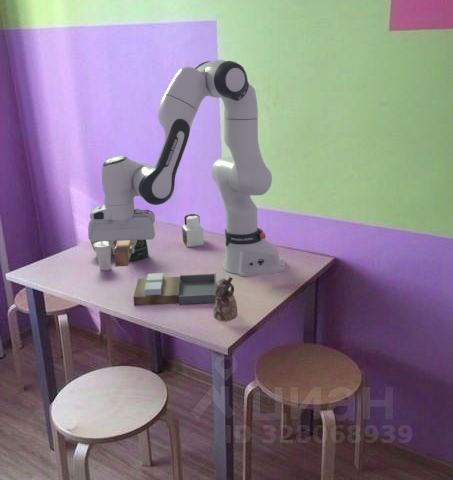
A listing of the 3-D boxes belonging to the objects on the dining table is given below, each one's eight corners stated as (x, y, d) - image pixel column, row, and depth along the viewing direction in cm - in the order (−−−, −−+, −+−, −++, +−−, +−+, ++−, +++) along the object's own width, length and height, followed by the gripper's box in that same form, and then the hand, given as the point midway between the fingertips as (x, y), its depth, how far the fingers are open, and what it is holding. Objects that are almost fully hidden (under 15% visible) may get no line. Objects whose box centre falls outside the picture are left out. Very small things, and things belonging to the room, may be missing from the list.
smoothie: (106, 263, 195) (102, 228, 190) (117, 267, 191) (114, 231, 187) (92, 269, 191) (88, 233, 186) (103, 273, 187) (99, 236, 182)
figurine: (209, 312, 157) (208, 276, 153) (231, 307, 160) (230, 271, 155) (219, 323, 151) (217, 285, 147) (241, 318, 153) (240, 281, 149)
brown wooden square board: (180, 284, 176) (180, 276, 175) (179, 303, 163) (178, 295, 162) (138, 286, 176) (138, 278, 175) (134, 305, 163) (133, 297, 162)
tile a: (163, 278, 174) (163, 273, 173) (162, 284, 169) (162, 279, 169) (148, 279, 174) (147, 273, 173) (147, 285, 169) (146, 280, 168)
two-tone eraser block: (132, 249, 171) (131, 236, 169) (127, 266, 158) (126, 251, 156) (121, 249, 171) (120, 236, 169) (115, 266, 158) (113, 252, 156)
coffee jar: (131, 263, 195) (126, 215, 189) (119, 258, 200) (114, 211, 194) (152, 255, 201) (148, 209, 195) (139, 251, 207) (135, 206, 200)
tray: (216, 281, 178) (215, 273, 177) (217, 303, 163) (217, 294, 162) (180, 283, 177) (180, 275, 176) (179, 305, 162) (178, 296, 161)
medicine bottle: (182, 241, 215) (181, 213, 211) (199, 239, 217) (198, 211, 213) (186, 247, 209) (185, 219, 205) (204, 245, 211) (202, 216, 206)
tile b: (162, 287, 167) (161, 281, 167) (161, 294, 163) (160, 288, 162) (146, 288, 167) (146, 282, 167) (145, 295, 163) (144, 289, 162)
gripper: (155, 206, 162) (157, 248, 167) (88, 208, 161) (93, 250, 166) (153, 212, 156) (156, 255, 161) (84, 214, 156) (89, 257, 160)
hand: (123, 252), depth 164 cm, fingers closed on two-tone eraser block, 3 cm apart
